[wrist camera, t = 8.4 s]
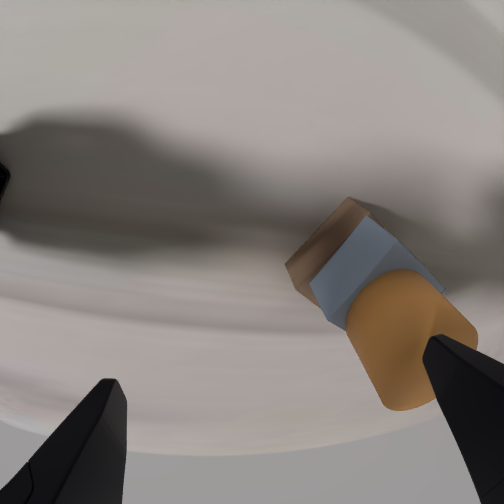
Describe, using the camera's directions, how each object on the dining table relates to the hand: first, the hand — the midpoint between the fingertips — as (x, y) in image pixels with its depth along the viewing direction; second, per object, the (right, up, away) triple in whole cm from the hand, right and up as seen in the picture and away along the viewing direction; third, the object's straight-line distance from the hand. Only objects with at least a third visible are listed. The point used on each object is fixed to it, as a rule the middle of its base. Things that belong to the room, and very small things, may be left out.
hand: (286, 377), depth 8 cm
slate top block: (+6, +2, +10) cm, 12 cm away
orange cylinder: (+6, 0, +7) cm, 9 cm away
